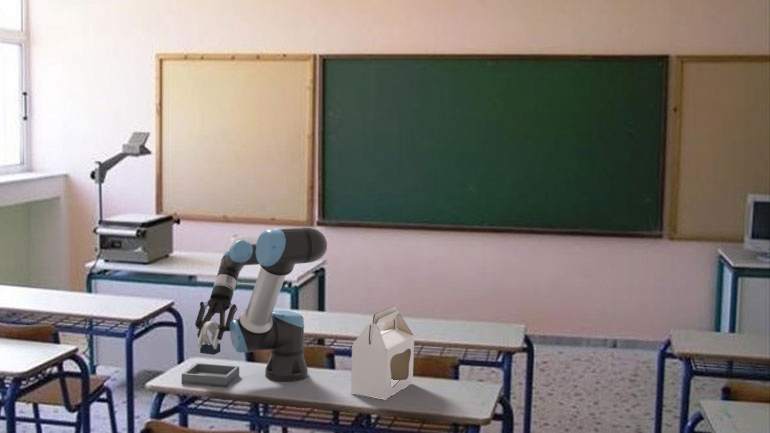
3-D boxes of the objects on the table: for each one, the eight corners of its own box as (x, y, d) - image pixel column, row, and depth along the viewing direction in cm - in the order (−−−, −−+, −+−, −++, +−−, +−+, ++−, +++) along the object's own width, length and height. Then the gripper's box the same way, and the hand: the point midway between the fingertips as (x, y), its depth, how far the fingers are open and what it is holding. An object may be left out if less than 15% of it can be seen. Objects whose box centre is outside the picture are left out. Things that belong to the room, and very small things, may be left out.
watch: (223, 350, 331) (223, 319, 330) (211, 356, 324) (210, 324, 323) (209, 348, 334) (209, 318, 332) (197, 354, 326) (196, 323, 325)
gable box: (385, 401, 312) (387, 318, 309) (350, 394, 318) (352, 313, 315) (413, 383, 332) (415, 306, 329) (379, 378, 338) (382, 301, 334)
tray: (239, 375, 335) (239, 366, 334) (225, 387, 321) (226, 377, 321) (196, 372, 338) (196, 362, 337) (181, 383, 324) (181, 373, 323)
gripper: (249, 297, 340) (233, 353, 326) (202, 294, 343) (185, 349, 329) (245, 286, 334) (228, 343, 320) (197, 282, 337) (179, 338, 323)
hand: (206, 346), depth 325 cm, fingers closed on watch, 5 cm apart
